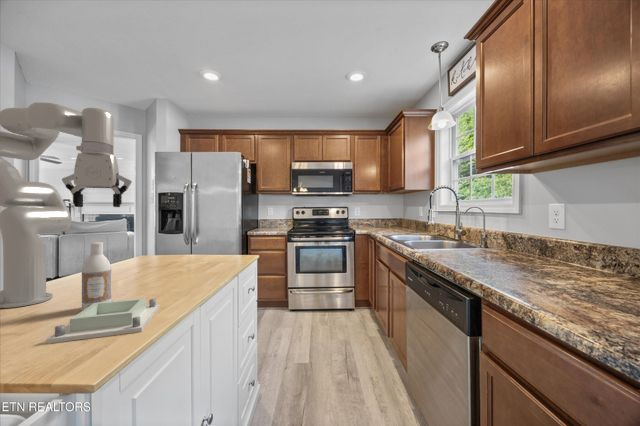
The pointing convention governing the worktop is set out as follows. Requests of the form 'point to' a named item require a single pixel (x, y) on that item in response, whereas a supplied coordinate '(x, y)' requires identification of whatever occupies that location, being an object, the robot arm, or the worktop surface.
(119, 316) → the dock
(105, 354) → the worktop surface
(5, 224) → the robot arm
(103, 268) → the bath foam
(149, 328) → the worktop surface
